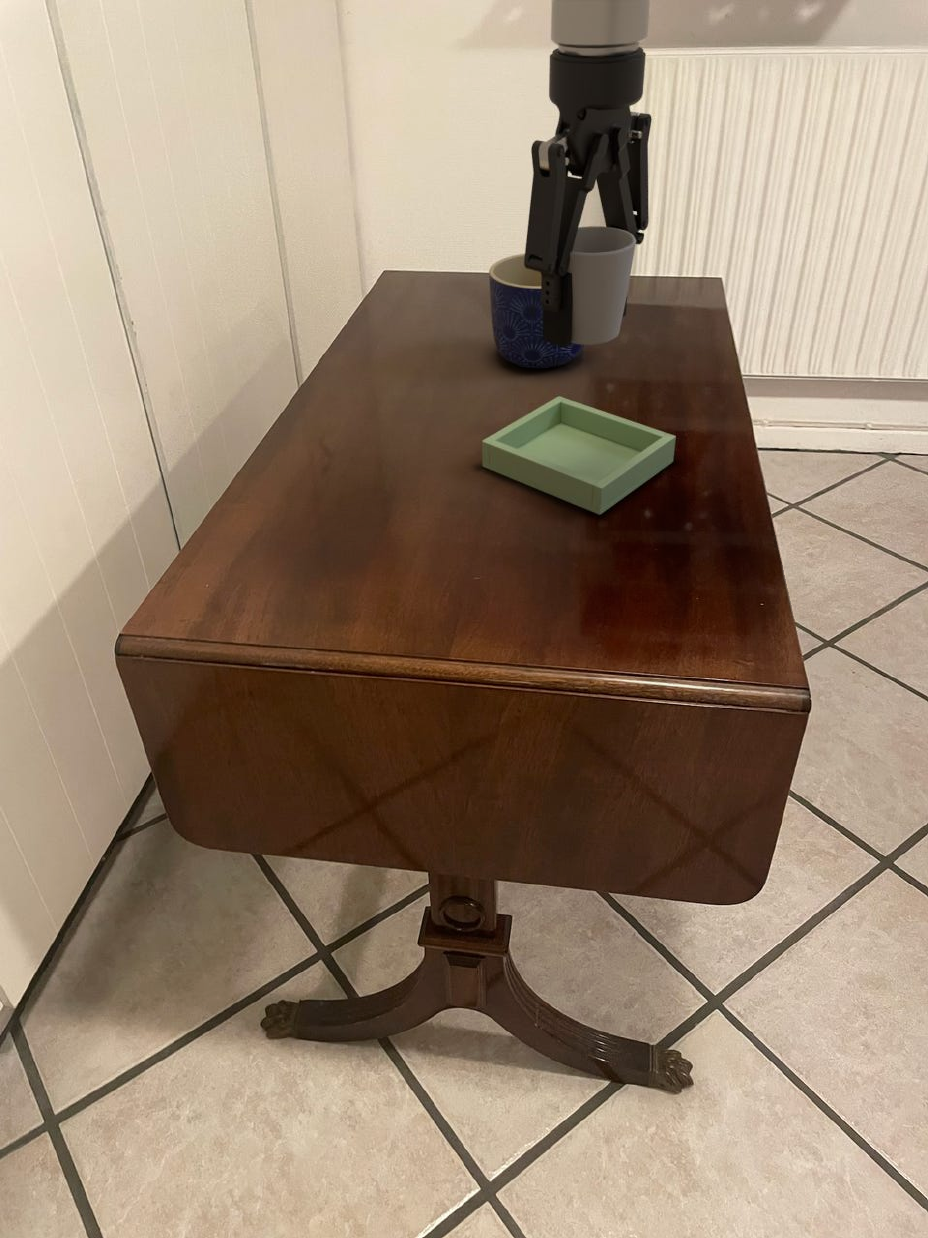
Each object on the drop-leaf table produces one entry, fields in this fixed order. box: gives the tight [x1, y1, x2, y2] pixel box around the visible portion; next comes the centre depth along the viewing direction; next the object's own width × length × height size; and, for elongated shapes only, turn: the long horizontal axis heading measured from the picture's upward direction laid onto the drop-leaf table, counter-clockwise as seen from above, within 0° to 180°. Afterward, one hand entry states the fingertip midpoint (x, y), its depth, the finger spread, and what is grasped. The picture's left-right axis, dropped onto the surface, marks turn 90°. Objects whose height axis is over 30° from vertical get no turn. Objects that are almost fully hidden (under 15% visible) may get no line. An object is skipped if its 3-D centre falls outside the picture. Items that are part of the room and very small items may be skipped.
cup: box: [556, 225, 637, 346], centre depth 86 cm, size 8×10×8 cm
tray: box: [481, 395, 677, 515], centre depth 98 cm, size 15×13×3 cm
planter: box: [488, 253, 585, 369], centre depth 117 cm, size 12×12×11 cm
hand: (585, 327), depth 89 cm, fingers closed on cup, 8 cm apart
